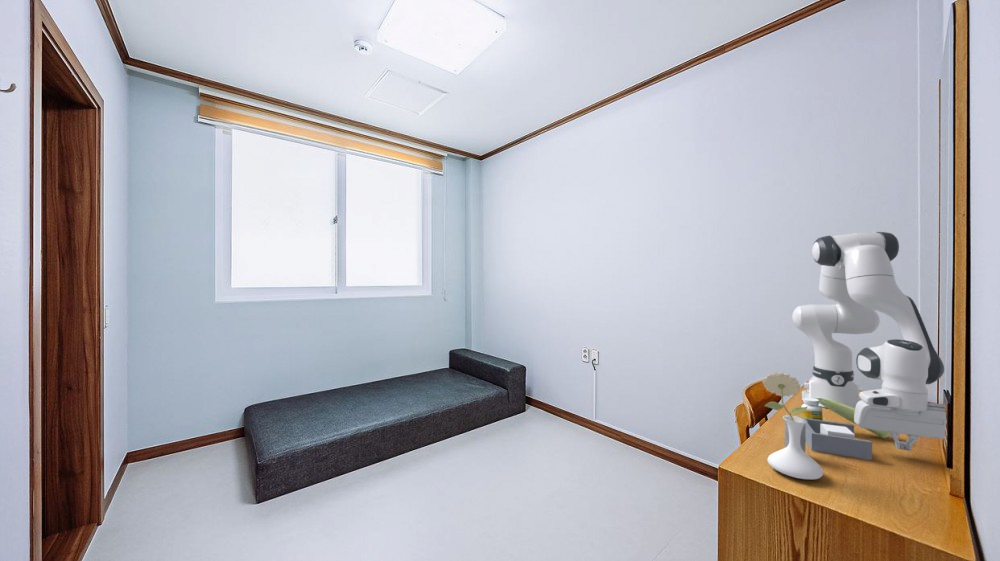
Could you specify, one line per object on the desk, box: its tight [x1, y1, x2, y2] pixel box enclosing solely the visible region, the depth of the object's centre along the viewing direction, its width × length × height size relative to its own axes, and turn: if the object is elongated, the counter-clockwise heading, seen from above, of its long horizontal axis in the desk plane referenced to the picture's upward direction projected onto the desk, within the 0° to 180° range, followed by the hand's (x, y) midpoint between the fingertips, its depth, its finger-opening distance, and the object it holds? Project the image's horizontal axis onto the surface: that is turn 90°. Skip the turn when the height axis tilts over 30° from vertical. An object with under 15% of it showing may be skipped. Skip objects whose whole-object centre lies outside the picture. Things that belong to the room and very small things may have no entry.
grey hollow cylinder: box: [784, 420, 806, 453], centre depth 107 cm, size 4×4×10 cm
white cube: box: [820, 424, 856, 439], centre depth 111 cm, size 6×6×6 cm
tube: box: [811, 397, 891, 439], centre depth 122 cm, size 6×5×20 cm
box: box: [800, 416, 873, 461], centre depth 113 cm, size 14×13×5 cm
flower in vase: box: [762, 372, 824, 480], centre depth 98 cm, size 13×11×25 cm
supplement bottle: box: [800, 398, 824, 420], centre depth 126 cm, size 5×5×10 cm
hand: (903, 449), depth 106 cm, fingers closed
